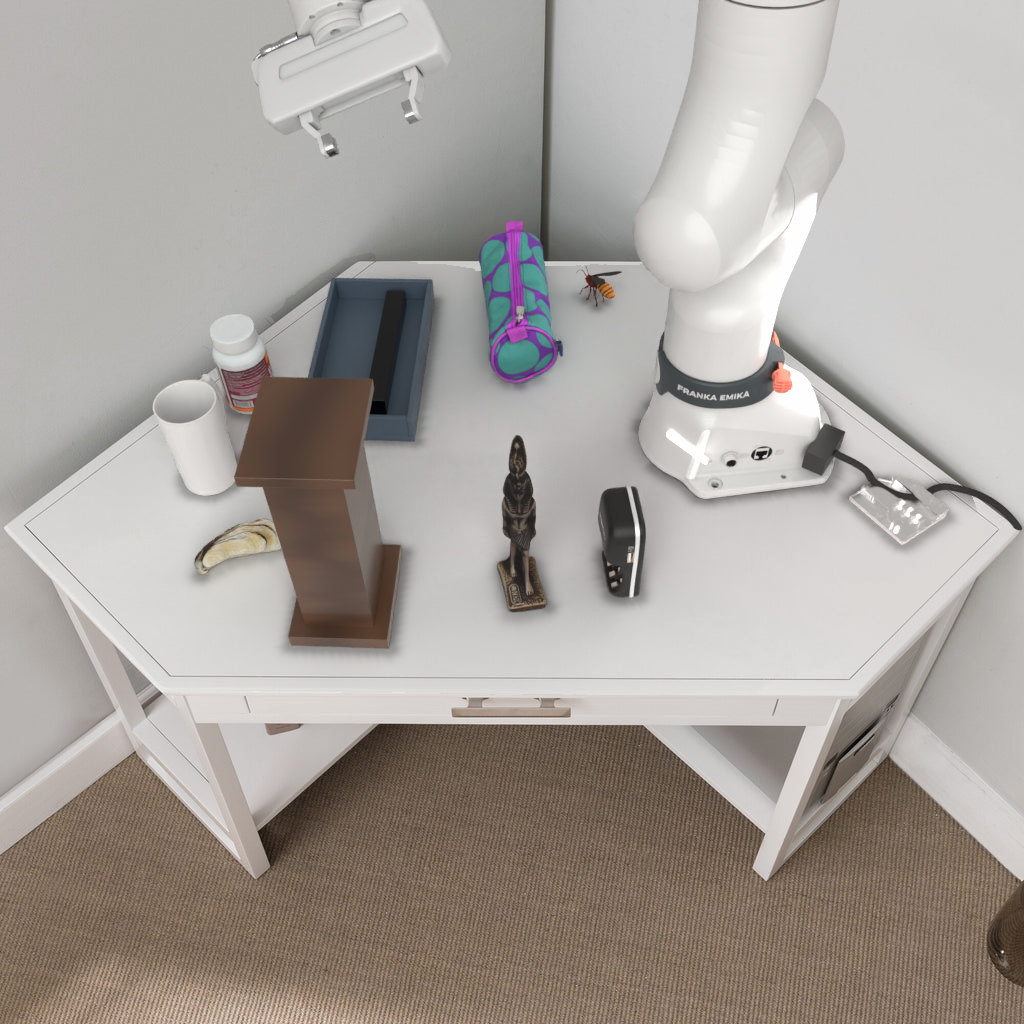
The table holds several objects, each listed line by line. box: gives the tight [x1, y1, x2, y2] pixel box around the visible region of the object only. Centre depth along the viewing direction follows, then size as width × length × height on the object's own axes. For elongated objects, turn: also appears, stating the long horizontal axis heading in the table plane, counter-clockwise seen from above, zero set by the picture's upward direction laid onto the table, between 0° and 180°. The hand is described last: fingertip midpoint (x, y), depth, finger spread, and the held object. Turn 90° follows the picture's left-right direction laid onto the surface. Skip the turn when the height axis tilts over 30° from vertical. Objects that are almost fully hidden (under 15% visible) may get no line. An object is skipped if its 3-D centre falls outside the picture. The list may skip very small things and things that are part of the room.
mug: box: [152, 373, 238, 497], centre depth 119 cm, size 10×7×12 cm, turn 168°
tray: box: [307, 277, 436, 442], centre depth 132 cm, size 13×25×4 cm, turn 177°
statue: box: [496, 434, 548, 613], centre depth 104 cm, size 4×7×20 cm, turn 13°
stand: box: [234, 376, 403, 649], centre depth 102 cm, size 10×12×26 cm
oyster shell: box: [193, 518, 282, 576], centre depth 115 cm, size 6×4×10 cm
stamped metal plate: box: [848, 475, 950, 546], centre depth 117 cm, size 8×7×2 cm
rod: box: [369, 291, 407, 415], centre depth 133 cm, size 2×20×2 cm, turn 177°
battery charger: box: [597, 485, 647, 598], centre depth 108 cm, size 7×4×11 cm, turn 6°
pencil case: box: [478, 220, 564, 384], centre depth 134 cm, size 21×9×10 cm, turn 5°
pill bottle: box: [209, 313, 275, 415], centre depth 126 cm, size 6×6×11 cm
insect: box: [575, 266, 623, 307], centre depth 139 cm, size 4×6×5 cm, turn 40°
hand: (372, 137), depth 108 cm, fingers open, 8 cm apart
